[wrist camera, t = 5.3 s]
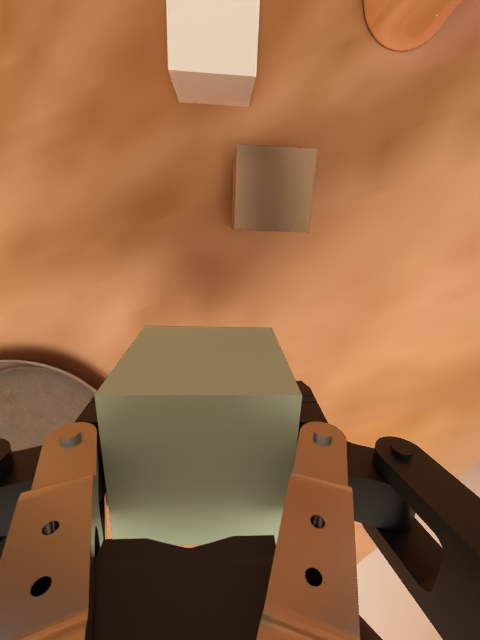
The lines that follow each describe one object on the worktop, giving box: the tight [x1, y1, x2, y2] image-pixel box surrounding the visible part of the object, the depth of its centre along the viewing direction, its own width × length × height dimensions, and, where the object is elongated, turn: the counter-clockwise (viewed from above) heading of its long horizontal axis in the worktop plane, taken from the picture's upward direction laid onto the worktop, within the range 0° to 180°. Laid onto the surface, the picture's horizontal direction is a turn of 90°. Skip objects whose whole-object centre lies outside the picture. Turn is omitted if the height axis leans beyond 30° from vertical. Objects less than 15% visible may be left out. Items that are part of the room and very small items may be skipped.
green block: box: [94, 326, 302, 546], centre depth 11 cm, size 5×5×5 cm
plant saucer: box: [0, 360, 108, 506], centre depth 28 cm, size 18×18×3 cm
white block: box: [166, 0, 260, 107], centre depth 19 cm, size 5×5×5 cm
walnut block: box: [231, 144, 317, 232], centre depth 22 cm, size 5×5×5 cm
